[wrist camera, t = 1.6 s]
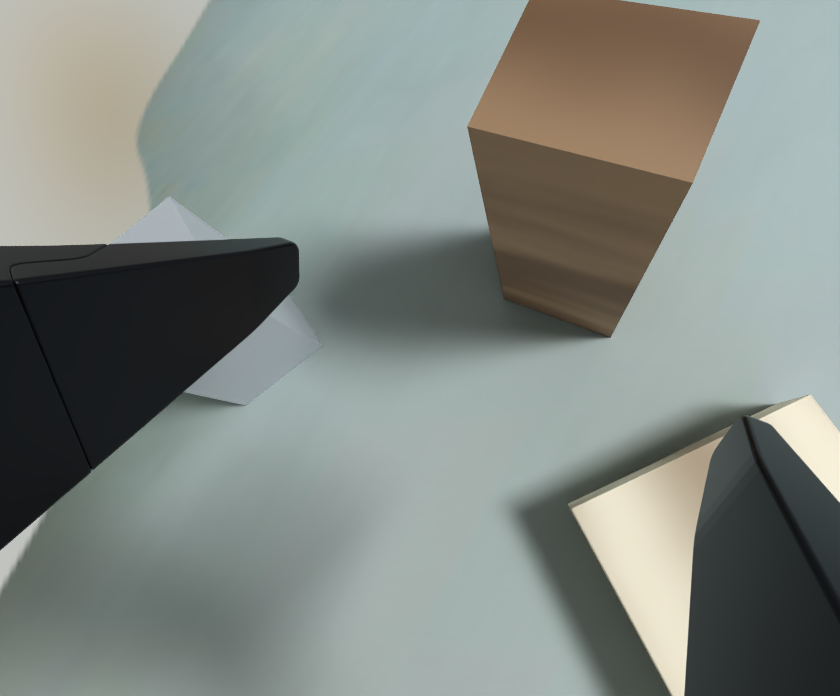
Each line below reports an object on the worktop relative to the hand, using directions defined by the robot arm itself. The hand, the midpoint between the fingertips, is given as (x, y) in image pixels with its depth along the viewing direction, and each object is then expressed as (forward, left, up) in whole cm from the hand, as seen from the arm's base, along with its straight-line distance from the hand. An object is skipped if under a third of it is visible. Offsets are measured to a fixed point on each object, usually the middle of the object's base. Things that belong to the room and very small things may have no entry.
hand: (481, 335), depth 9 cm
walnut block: (+5, +4, -13) cm, 14 cm away
